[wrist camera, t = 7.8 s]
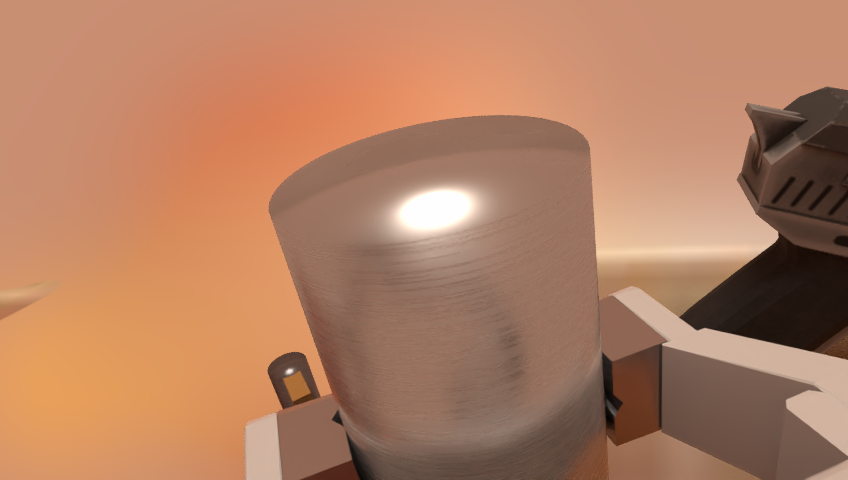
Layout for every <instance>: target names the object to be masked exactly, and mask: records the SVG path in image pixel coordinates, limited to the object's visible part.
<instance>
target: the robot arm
mask: <svg viewBox="0 0 848 480" xmlns="http://www.w3.org/2000/svg"><path fill="white" fill-rule="evenodd" d="M599 314H600V331H601V348H602V365H603V382H604V399H605V417H606V434H607V436H608V437H609V438H610V439H611V441H612V442H613V443H614V444H615V445H616V446H619V445H621V444H624V443H627V442H629V441H632V440H635V439H637V438H640V437H643V436H645V435H648V434H651V433H653V432H656V431H659V430H661V429H662V432H663V433H665V434H667V435H669V436H671V437H673V438H676V439H678V440H680V441H682V442H684V443H686V444H688V445H690V446H693V447H695V448H697V449H699V450H701V451H703V452H705V453H707V454H710V455H712V456H714V457H716V458H718V459H720V460H722V461H725V462H727V463H729V464H731V465H733V466H735V467H737V468H739V469H742V470H744V471H746V472H748V473H750V474H752V475H754V476H757V477H759V478H761V479H763V480H848V360H846V359H842V358H837V357H833V356H828V355H824V354H819V353H815V352H810V351H806V350H801V349H797V348H792V347H788V346H783V345H779V344H774V343H770V342H765V341H761V340H756V339H752V338H747V337H743V336H738V335H734V334H729V333H725V332H720V331H716V330H711V329H707V328H704V329H701V330H698V331H697V330H695V329H694V328H692V327H691V326H690V325H688V324H687V323H686V322H684V321H683V320H682V319H680V318H679V317H677V316H676V315H675V314H673V313H672V312H671V311H669V310H668V309H667V308H665V307H664V306H662V305H661V304H660V303H658V302H657V301H656V300H654V299H653V298H652V297H650V296H649V295H647V294H646V293H645V292H643V291H642V290H641V289H639V288H637V287H633V286H630V287H628V288H625V289H623V290H620V291H617V292H615V293H612V294H610V295H607V296H606V297H604V298H601V299H599ZM245 480H362V477H361V474H360V471H359V468H358V465H357V462H356V459H355V456H354V453H353V450H352V448H351V445H350V442H349V439H348V436H347V433H346V431H345V428H344V425H343V422H342V419H341V417H340V414H339V411H338V408H337V405H336V402H335V399H334V397H333V394H329V395H326V396H323V397H320V398H317V399H314V400H311V401H307V402H304V403H301V404H298V405H295V406H292V407H289V408H286V409H283V410H280V411H278V412H275V413H272V414H269V415H266V416H263V417H261V418H257V419H255V420H252V421H249V422H247V424H246V427H245Z"/></svg>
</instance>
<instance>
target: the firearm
mask: <svg viewBox="0 0 848 480" xmlns="http://www.w3.org/2000/svg"><path fill="white" fill-rule="evenodd" d="M745 110H746V112H747V113H748V115H749V117H750V119H751V120H752V123H753V126H754V129H755V133H754V134H752V135H751V136H750V139H749V143H748V147H747V151H746V155H745V160H744V164H743V168H742V172H741V173H740V174H739V176H738V178H737V181H738V182H739V184H740V186H741V187H742V189H743V191H744V193H745V195H746V197H747V198H748V200H749V202H750V204H751V206H752V207H753V209H754V211H755V213H756V214H757V215H758V216H759V217H760V218H762V219H763V220H764V221H766V222H767V223H768V224H769V225H770V226H772V227H773V228H774V229H775V230H777V231H778V235H779V238H778V239H777V241H776V242H775V243H774V244H773V245H771V246H770V247H769V248H767V249H766V250H765V251H763V252H762V253H761V254H759V255H758V256H757V257H755V258H754V259H753V260H751V261H750V262H749V263H747V264H746V265H745V266H743V267H742V268H741V269H739V270H738V271H737V272H735V273H734V274H733V275H731V276H730V277H729V278H728V279H726V280H725V281H724V282H722V283H721V284H720V285H719V286H717V287H716V288H715V289H713V290H712V291H711V292H710V293H708V294H707V295H706V296H705V297H703V298H702V299H701V300H699V301H698V302H697V303H696V304H694V305H693V306H692V307H691V308H689V309H688V310H687V311H686V312H685V313H684V314H683V315H681V316H680V317H679V318H680V319H682V320H683V321H684V322H686V323H687V324H688V325H690V326H691V327H692V328H694V329H695V330H697V331H698V330H701V329H704V328H707V329H711V330H716V331H720V332H725V333H729V334H734V335H738V336H743V337H747V338H752V339H756V340H761V341H765V342H770V343H774V344H779V345H783V346H788V347H792V348H797V349H801V350H806V351H810V352H815V353H819V354H825V353H826V352H827V351H828V350H830V349H831V348H832V347H833V346H834V345H836V344H837V343H838V342H840V341H841V340H842V339H844V338H845V337H846V336H847V335H848V90H843V89H838V88H832V87H825V88H822V89H820V90H817V91H814V92H811V93H809V94H806V95H803V96H801V97H799V98H798V99H796V100H795V101H793V102H792V103H791V104H790V105H788V106H787V107H786V108H784V109H783V110H781V109H776V108H770V107H765V106H760V105H755V104H749V103H748V104H747V106H746V108H745Z"/></svg>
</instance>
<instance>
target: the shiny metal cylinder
mask: <svg viewBox="0 0 848 480" xmlns="http://www.w3.org/2000/svg"><path fill="white" fill-rule="evenodd" d="M269 213H270V215H271V219H272V222H273V225H274V227H275V230H276V233H277V236H278V239H279V242H280V245H281V248H282V250H283V253H284V256H285V259H286V262H287V265H288V268H289V270H290V273H291V276H292V279H293V282H294V285H295V288H296V290H297V293H298V296H299V299H300V302H301V305H302V307H303V310H304V313H305V316H306V319H307V322H308V325H309V328H310V331H311V334H312V336H313V339H314V342H315V345H316V348H317V351H318V354H319V356H320V359H321V362H322V365H323V368H324V371H325V374H326V376H327V379H328V382H329V385H330V388H331V390H332V394H333V397H334V399H335V402H336V405H337V408H338V411H339V414H340V417H341V419H342V422H343V425H344V428H345V431H346V433H347V436H348V439H349V442H350V445H351V448H352V450H353V453H354V456H355V459H356V462H357V465H358V468H359V471H360V474H361V477H362V480H609V468H608V451H607V434H606V417H605V399H604V382H603V365H602V348H601V331H600V314H599V296H598V279H597V262H596V245H595V228H594V210H593V193H592V176H591V160H590V147H589V144H588V141H587V140H586V139H585V137H584V136H583V135H582V134H581V133H579V132H578V131H577V130H575V129H573V128H571V127H569V126H567V125H565V124H562V123H559V122H556V121H551V120H547V119H542V118H535V117H527V116H510V115H507V116H506V115H494V116H493V115H492V116H473V117H462V118H453V119H446V120H439V121H433V122H428V123H422V124H417V125H413V126H408V127H403V128H399V129H396V130H392V131H388V132H385V133H381V134H378V135H374V136H371V137H368V138H365V139H362V140H359V141H356V142H354V143H351V144H348V145H346V146H343V147H341V148H338V149H336V150H334V151H332V152H329V153H327V154H325V155H323V156H321V157H319V158H317V159H315V160H314V161H312V162H310V163H308V164H307V165H305V166H303V167H302V168H300V169H299V170H297V171H296V172H294V173H293V174H292V175H291V176H289V177H288V178H287V179H286V180H285V181H284V182H283V183H282V184H281V185H280V186H279V187H278V188H277V189H276V191H275V192H274V194H273V195H272V198H271V200H270V202H269Z"/></svg>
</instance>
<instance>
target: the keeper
mask: <svg viewBox="0 0 848 480" xmlns="http://www.w3.org/2000/svg"><path fill="white" fill-rule="evenodd" d="M268 375H269V377H270V379H271V382H272V384H273V387H274V389H275V391H276V394H277V396H278V398H279V401H280V403H281V405H282V408H283V409H286V408H289V407H292V406H295V405H298V404H301V403H304V402H307V401H311V400H314V399H317V398H320V394H319V392H318V389H317V386H316V383H315V381H314V378H313V375H312V372H311V370H310V367H309V365H308V362H307V359H306V356H305V355H304V354H302V353H299V352H291V353H287V354H284V355H282V356H280V357H278V358H277V359H275V360H274V361H273V362H272V363H271V364H270V366H269V367H268Z"/></svg>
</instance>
